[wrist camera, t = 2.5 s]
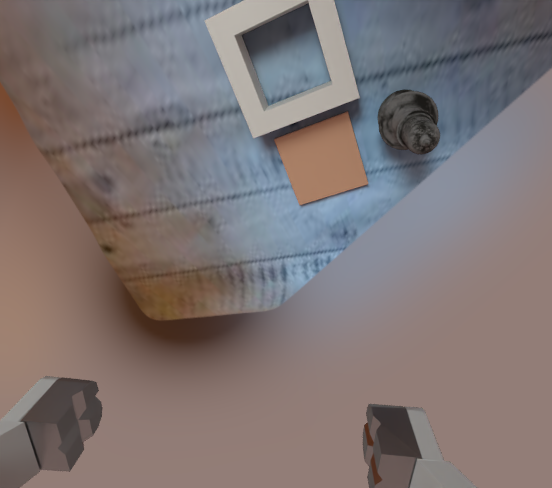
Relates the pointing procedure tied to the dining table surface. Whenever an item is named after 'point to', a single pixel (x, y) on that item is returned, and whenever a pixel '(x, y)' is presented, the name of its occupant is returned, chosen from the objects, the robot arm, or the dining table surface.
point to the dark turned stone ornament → (409, 121)
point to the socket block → (235, 58)
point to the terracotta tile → (322, 159)
